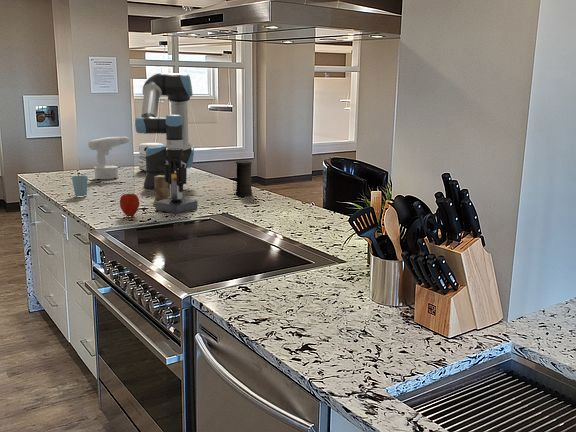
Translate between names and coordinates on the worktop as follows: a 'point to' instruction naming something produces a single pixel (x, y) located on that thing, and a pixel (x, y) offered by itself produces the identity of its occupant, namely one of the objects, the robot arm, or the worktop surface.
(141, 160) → the milk container
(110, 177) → the power drill
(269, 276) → the worktop surface
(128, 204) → the apple
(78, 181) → the cup
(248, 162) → the container
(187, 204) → the holder plate
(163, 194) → the square bit
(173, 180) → the round bit
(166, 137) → the robot arm
